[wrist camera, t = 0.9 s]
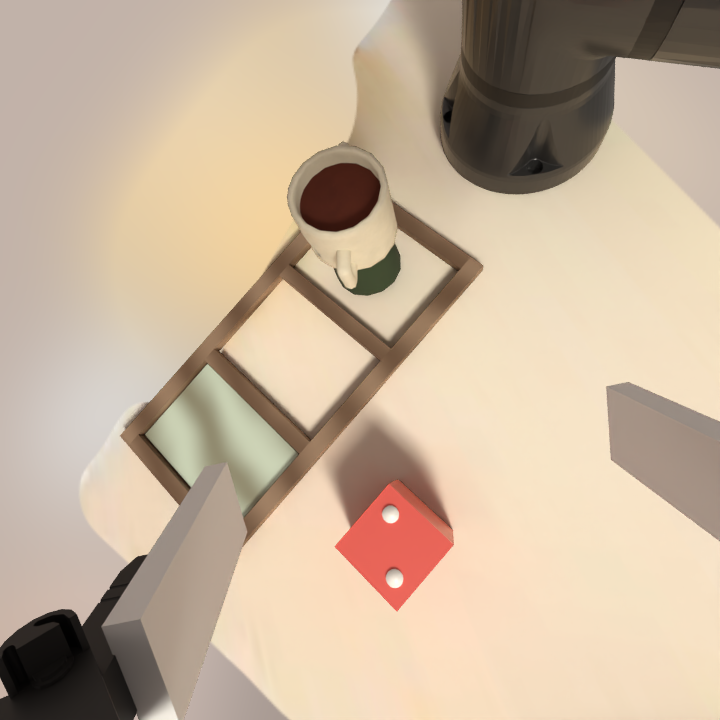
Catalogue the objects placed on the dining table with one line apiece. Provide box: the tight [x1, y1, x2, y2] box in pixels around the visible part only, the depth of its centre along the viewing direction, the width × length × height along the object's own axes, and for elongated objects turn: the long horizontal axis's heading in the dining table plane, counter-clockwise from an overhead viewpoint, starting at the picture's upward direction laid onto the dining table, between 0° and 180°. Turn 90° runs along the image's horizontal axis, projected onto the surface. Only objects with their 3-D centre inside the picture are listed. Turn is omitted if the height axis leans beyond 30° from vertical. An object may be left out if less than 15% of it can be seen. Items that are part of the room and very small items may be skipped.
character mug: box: [287, 142, 401, 296], centre depth 36 cm, size 11×7×13 cm, turn 0°
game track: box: [120, 202, 483, 547], centre depth 41 cm, size 34×16×1 cm, turn 138°
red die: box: [335, 479, 454, 611], centre depth 34 cm, size 6×6×6 cm
